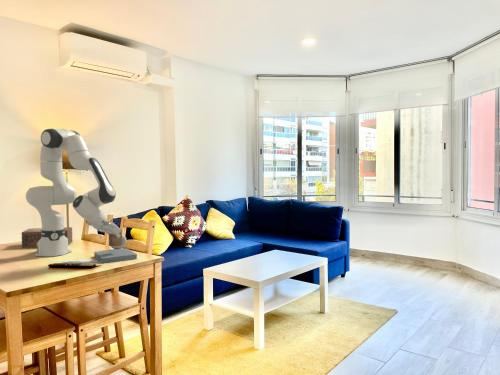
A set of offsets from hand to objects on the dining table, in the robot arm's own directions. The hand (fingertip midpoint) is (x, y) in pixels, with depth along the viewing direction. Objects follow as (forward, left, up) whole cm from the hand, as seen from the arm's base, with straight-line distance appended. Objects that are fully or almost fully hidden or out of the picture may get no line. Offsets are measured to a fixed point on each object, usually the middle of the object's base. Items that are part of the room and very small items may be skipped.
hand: (116, 236), depth 212 cm
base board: (0, -1, -12) cm, 12 cm away
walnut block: (0, -1, -5) cm, 5 cm away
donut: (-20, +6, -12) cm, 24 cm away
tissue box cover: (-58, -27, -12) cm, 65 cm away
